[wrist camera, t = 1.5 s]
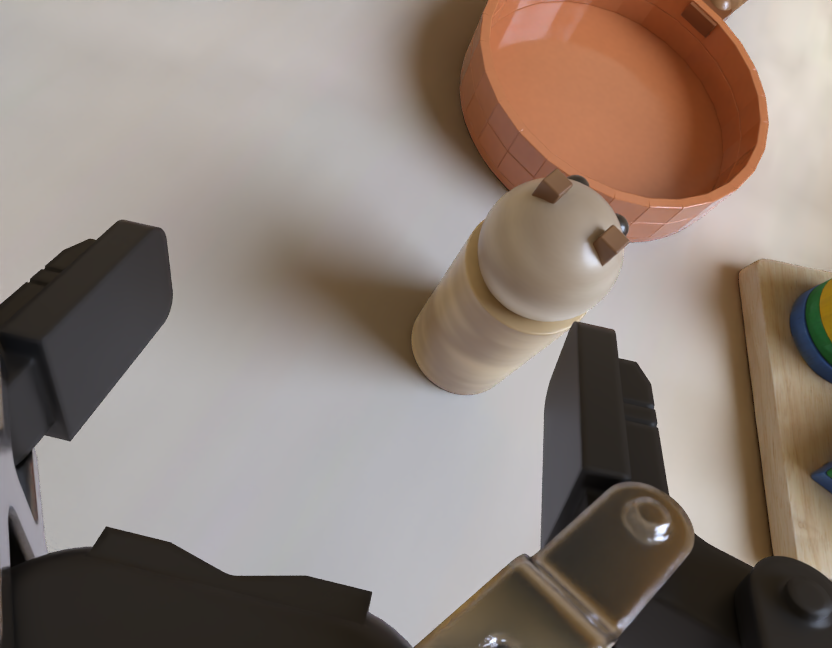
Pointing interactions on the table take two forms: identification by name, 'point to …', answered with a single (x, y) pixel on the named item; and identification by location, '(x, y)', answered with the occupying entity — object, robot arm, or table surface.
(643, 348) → the table surface
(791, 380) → the shape sorter
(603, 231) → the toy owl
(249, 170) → the table surface
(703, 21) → the pan handle
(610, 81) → the pan
